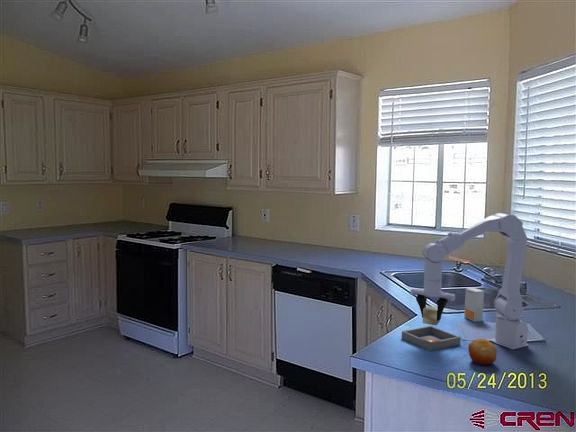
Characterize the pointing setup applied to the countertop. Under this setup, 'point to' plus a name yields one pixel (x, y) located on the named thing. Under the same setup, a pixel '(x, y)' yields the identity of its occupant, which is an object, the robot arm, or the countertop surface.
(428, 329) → the low pen
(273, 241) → the countertop surface
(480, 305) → the skincare box
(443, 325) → the countertop surface
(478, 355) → the fruit
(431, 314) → the birch block
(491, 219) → the robot arm
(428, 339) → the coaster
